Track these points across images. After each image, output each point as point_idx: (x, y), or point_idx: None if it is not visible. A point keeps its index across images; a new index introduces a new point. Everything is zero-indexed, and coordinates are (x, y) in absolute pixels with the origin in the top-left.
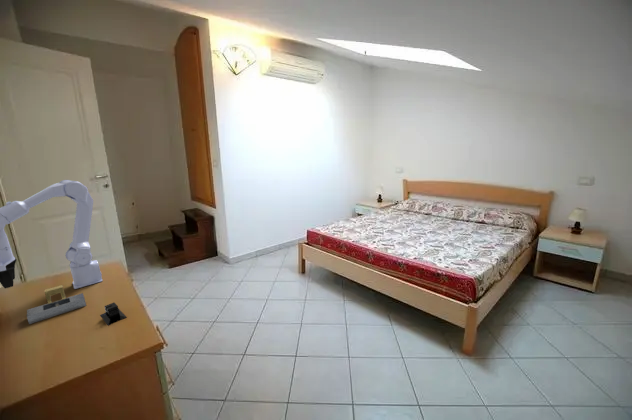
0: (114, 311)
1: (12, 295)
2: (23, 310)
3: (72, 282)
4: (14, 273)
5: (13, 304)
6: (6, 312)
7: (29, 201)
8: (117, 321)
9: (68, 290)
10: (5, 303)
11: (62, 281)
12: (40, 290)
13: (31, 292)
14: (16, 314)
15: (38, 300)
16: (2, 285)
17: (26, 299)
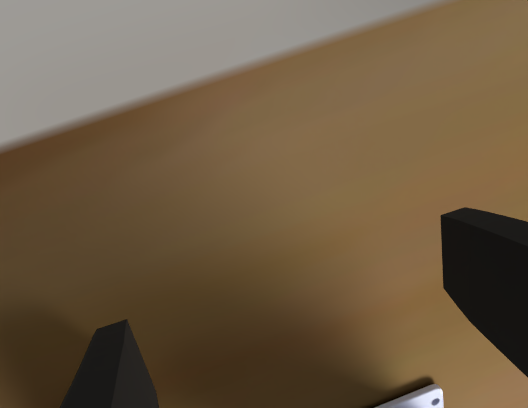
0: None
1: (522, 23)
2: (109, 233)
3: (432, 389)
4: (509, 358)
5: (302, 103)
6: (145, 106)
7: None
8: None
9: (319, 399)
10: (374, 23)
11: None
12: None
13: (472, 159)
14: (47, 208)
15: (260, 271)
16: (81, 367)
17: (345, 172)
